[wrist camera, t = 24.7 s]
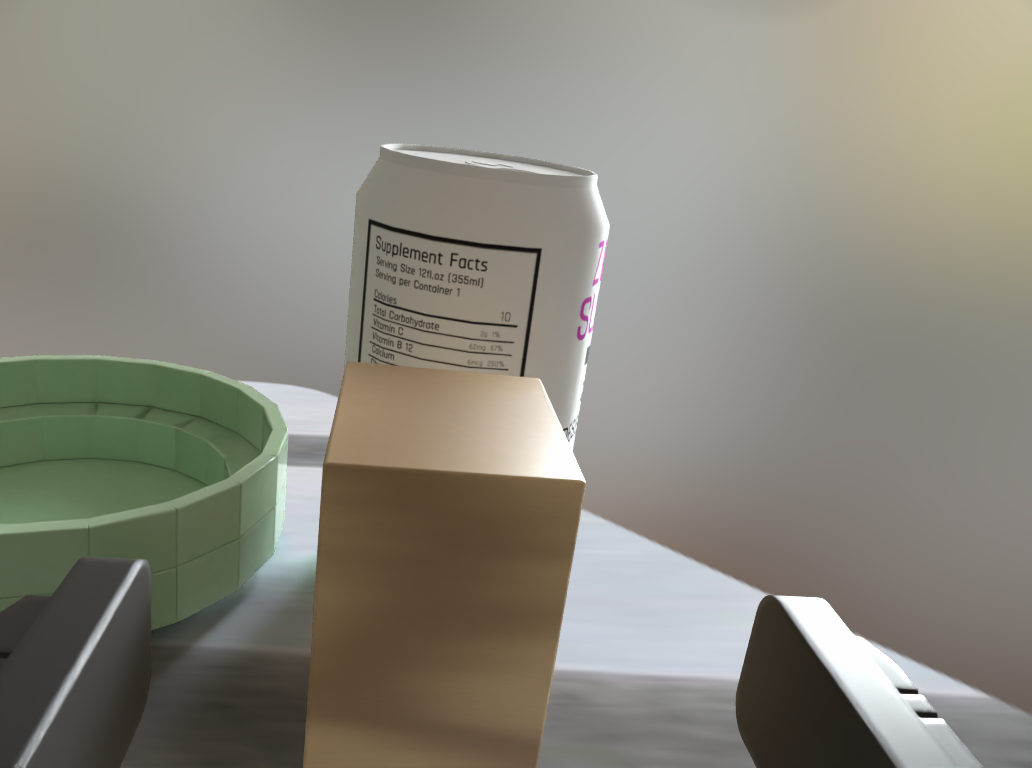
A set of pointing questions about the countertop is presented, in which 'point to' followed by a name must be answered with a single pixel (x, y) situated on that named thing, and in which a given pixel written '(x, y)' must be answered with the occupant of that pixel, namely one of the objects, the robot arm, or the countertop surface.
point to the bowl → (137, 476)
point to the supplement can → (478, 267)
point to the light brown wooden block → (439, 570)
